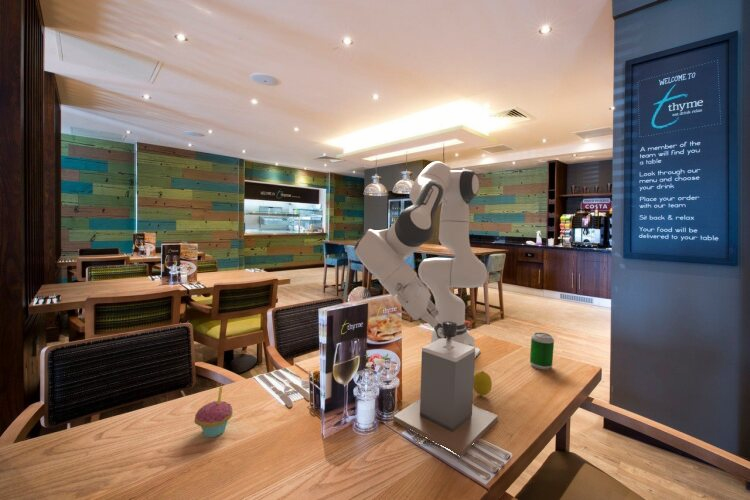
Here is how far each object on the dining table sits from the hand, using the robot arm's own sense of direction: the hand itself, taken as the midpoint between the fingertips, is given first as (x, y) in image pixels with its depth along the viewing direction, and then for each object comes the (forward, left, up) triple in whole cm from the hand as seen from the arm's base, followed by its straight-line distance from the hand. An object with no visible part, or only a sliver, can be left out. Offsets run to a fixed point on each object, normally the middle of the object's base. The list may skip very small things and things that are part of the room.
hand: (436, 319), depth 90 cm
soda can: (-57, +10, -28) cm, 64 cm away
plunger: (-2, +3, -25) cm, 25 cm away
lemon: (-21, +4, -28) cm, 35 cm away
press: (-2, +3, -28) cm, 28 cm away
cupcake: (+43, -36, -28) cm, 63 cm away
